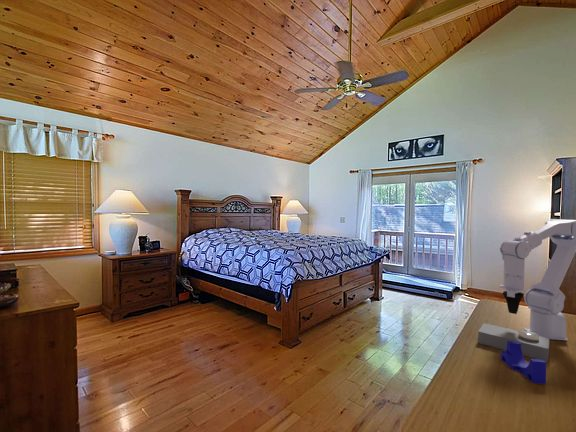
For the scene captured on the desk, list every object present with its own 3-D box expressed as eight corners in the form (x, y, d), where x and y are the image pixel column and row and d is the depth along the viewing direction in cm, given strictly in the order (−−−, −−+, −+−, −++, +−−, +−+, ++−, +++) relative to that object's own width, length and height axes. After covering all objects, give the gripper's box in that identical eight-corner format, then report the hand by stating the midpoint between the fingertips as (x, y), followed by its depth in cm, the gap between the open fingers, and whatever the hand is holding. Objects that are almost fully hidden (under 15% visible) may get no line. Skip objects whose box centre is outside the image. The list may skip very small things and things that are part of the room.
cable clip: (500, 359, 89) (501, 340, 89) (517, 361, 89) (517, 341, 88) (526, 383, 77) (527, 360, 77) (545, 384, 77) (546, 362, 77)
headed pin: (532, 345, 97) (532, 331, 97) (542, 353, 92) (543, 337, 92) (514, 344, 98) (515, 329, 98) (524, 352, 93) (524, 336, 93)
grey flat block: (549, 350, 95) (549, 338, 95) (548, 361, 88) (548, 348, 88) (483, 333, 107) (483, 323, 107) (478, 342, 100) (478, 331, 100)
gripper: (502, 269, 110) (502, 305, 111) (496, 276, 100) (495, 315, 100) (526, 272, 106) (525, 309, 106) (522, 279, 95) (521, 321, 95)
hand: (512, 312), depth 103 cm, fingers closed
